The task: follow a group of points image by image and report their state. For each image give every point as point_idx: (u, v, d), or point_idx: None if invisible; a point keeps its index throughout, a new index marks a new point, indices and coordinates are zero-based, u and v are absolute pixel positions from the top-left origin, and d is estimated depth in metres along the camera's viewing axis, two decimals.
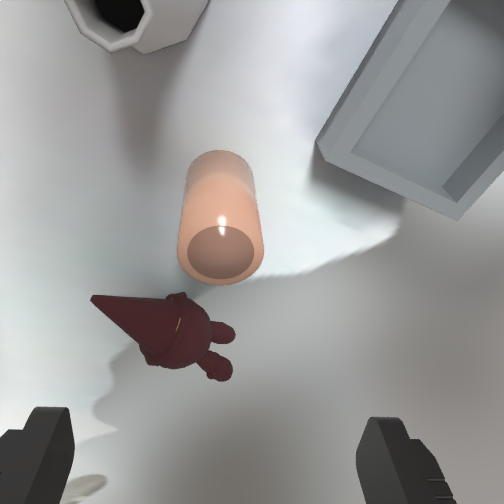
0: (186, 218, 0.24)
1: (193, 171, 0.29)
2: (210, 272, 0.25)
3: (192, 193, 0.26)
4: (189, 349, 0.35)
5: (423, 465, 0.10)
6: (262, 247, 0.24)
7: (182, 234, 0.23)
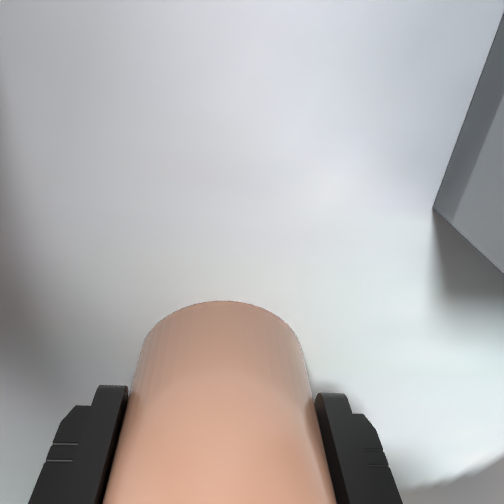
0: None
1: (131, 389, 0.11)
2: None
3: None
4: None
5: (363, 437, 0.10)
6: None
7: None
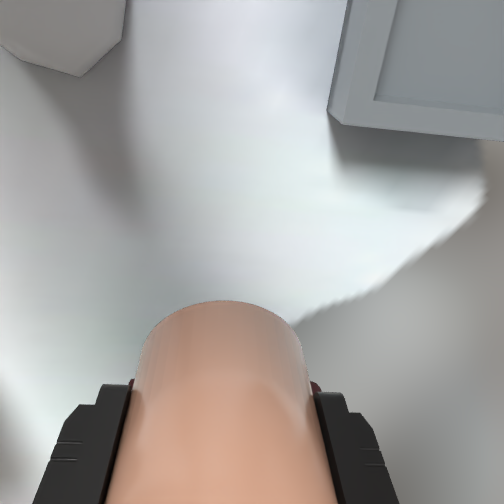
0: None
1: (133, 389, 0.11)
2: None
3: None
4: None
5: (360, 436, 0.11)
6: None
7: None
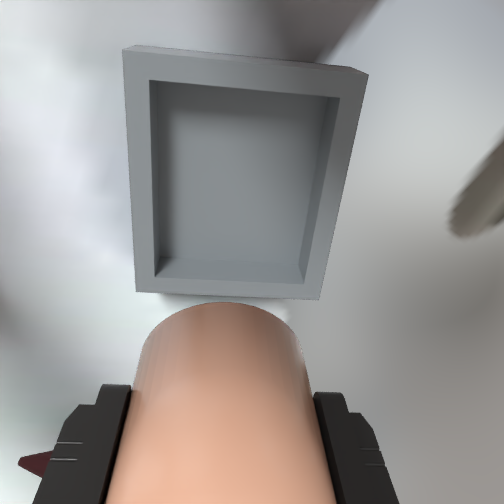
0: None
1: (132, 390, 0.11)
2: None
3: None
4: None
5: (360, 436, 0.11)
6: None
7: None
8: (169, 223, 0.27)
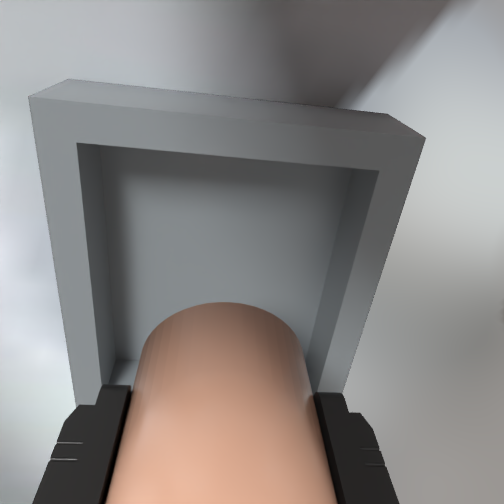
0: None
1: (133, 390, 0.11)
2: None
3: None
4: None
5: (360, 436, 0.11)
6: None
7: None
8: (127, 320, 0.19)
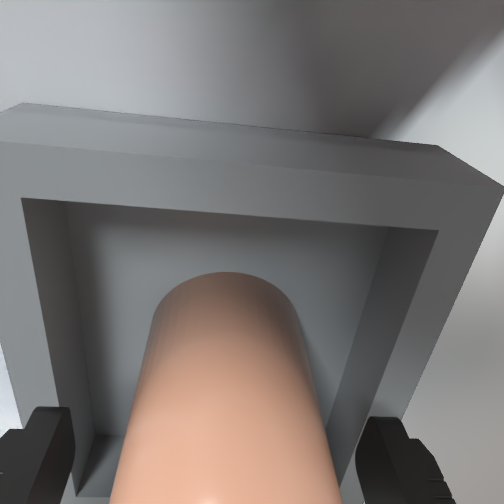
0: None
1: (146, 348, 0.12)
2: None
3: (124, 449, 0.09)
4: None
5: (422, 464, 0.10)
6: None
7: None
8: (107, 392, 0.15)
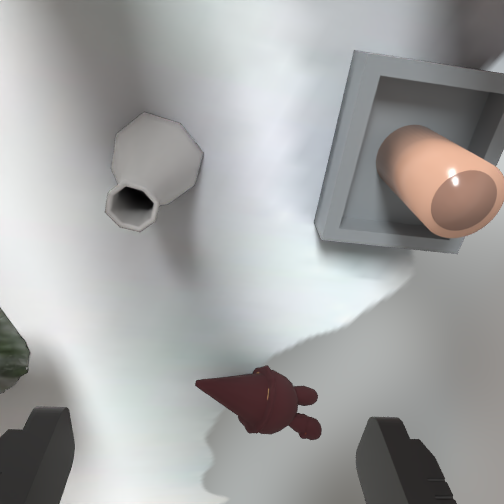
0: (420, 178, 0.26)
1: (390, 148, 0.31)
2: (453, 224, 0.26)
3: (408, 160, 0.28)
4: (281, 415, 0.41)
5: (423, 465, 0.10)
6: None
7: (426, 190, 0.25)
8: None
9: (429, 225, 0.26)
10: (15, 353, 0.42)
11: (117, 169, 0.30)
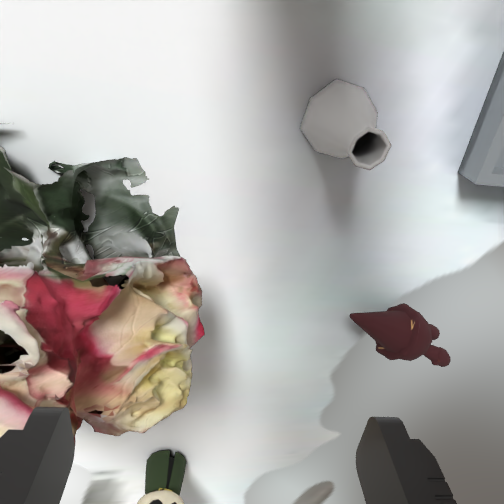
0: None
1: None
2: None
3: None
4: (423, 342, 0.48)
5: (423, 465, 0.10)
6: None
7: None
8: None
9: None
10: None
11: (322, 126, 0.36)
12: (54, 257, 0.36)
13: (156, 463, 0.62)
